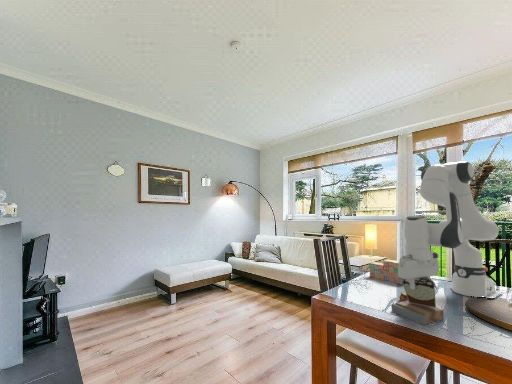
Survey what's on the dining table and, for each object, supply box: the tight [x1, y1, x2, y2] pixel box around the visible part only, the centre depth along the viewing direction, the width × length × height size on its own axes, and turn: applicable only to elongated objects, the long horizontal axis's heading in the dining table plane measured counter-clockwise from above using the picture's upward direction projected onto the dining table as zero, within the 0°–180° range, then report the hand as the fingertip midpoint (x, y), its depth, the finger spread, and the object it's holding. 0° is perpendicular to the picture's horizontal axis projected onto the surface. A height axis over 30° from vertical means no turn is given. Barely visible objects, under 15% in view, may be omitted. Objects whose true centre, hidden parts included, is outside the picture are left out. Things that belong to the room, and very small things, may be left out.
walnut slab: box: [395, 301, 444, 324], centre depth 100 cm, size 11×12×4 cm
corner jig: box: [391, 301, 428, 326], centre depth 100 cm, size 12×14×3 cm
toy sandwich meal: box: [398, 290, 408, 302], centre depth 112 cm, size 12×14×5 cm
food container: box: [401, 277, 438, 308], centre depth 101 cm, size 12×6×10 cm, turn 43°
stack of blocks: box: [368, 258, 403, 285], centre depth 151 cm, size 21×6×12 cm, turn 37°
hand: (419, 287), depth 100 cm, fingers closed on food container, 6 cm apart
